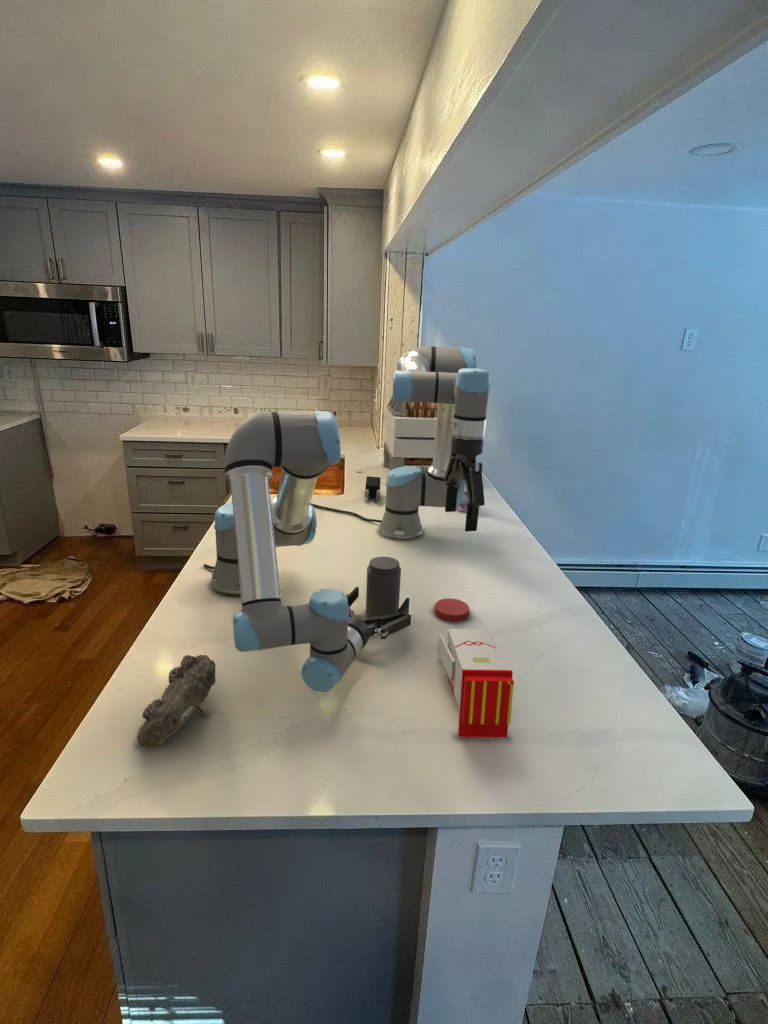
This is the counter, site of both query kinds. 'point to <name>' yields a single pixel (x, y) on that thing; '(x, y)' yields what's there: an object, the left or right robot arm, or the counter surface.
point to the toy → (478, 682)
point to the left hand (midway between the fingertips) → (382, 597)
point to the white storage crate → (409, 433)
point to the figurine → (464, 502)
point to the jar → (382, 587)
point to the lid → (451, 609)
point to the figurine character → (372, 488)
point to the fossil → (178, 699)
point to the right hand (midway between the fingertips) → (460, 520)
